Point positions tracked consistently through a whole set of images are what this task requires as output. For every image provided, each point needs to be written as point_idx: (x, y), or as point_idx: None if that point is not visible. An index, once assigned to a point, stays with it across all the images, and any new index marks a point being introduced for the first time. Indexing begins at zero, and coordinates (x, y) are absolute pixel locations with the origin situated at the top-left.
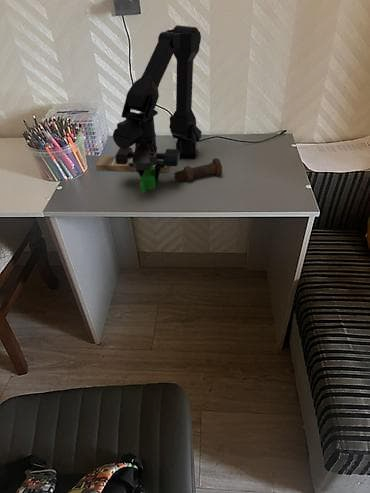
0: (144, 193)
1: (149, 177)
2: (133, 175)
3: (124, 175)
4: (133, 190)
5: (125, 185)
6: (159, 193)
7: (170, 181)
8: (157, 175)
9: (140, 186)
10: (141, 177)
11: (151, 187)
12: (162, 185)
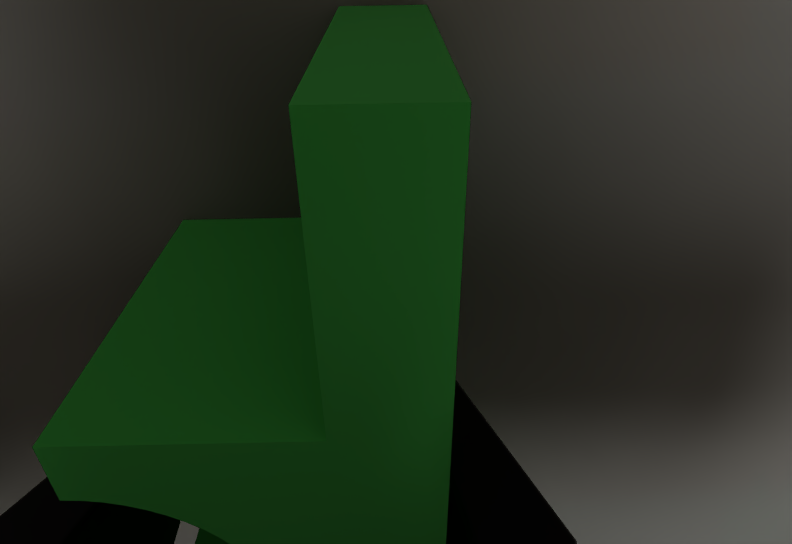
0: (343, 11)
1: (194, 423)
2: (642, 507)
3: (778, 497)
4: (624, 133)
5: (786, 278)
6: (12, 78)
7: (30, 441)
8: (24, 518)
9: (435, 43)
10: (448, 386)
11: (243, 236)
12: (101, 340)
